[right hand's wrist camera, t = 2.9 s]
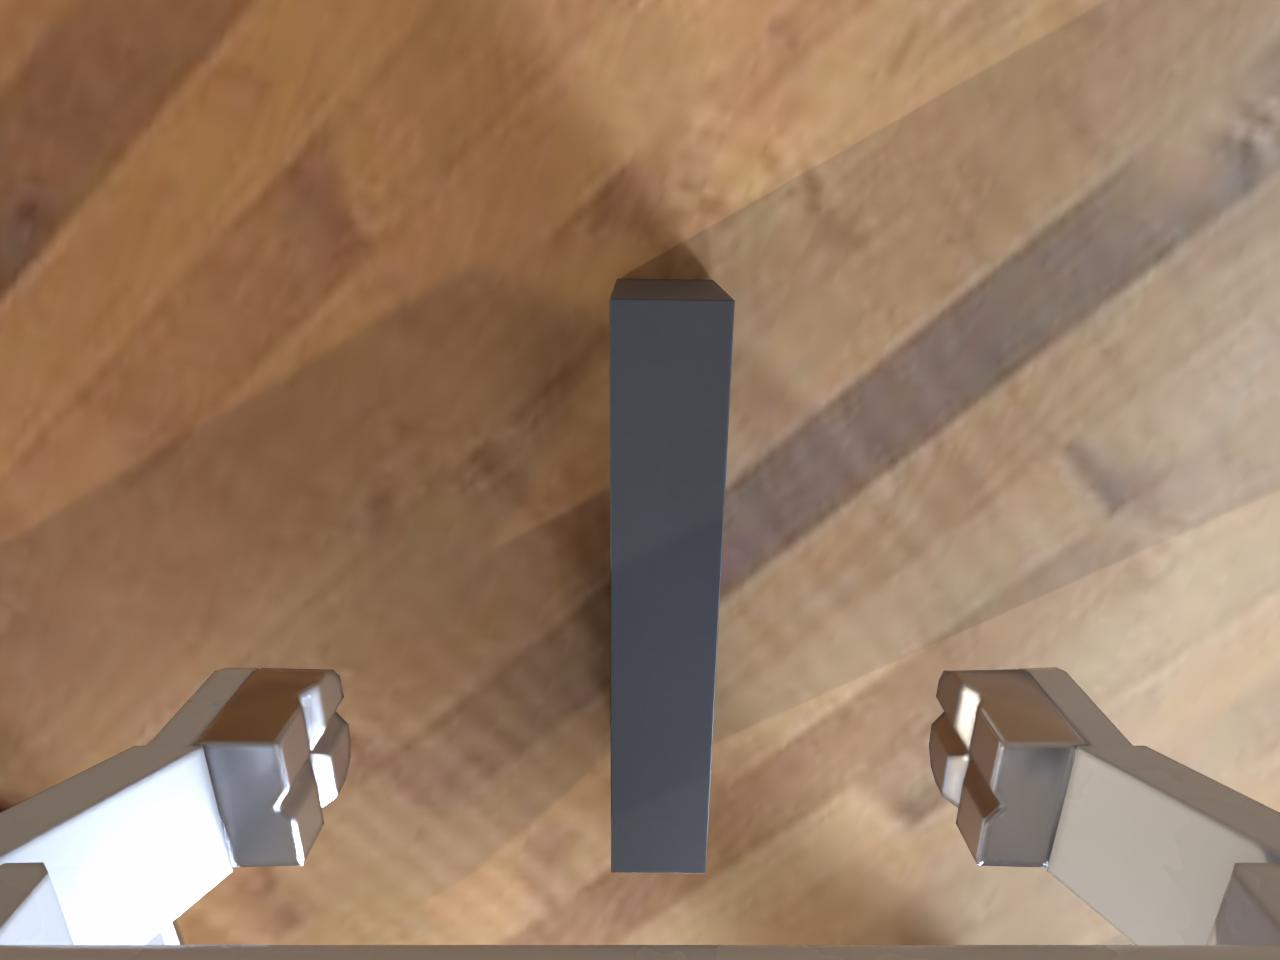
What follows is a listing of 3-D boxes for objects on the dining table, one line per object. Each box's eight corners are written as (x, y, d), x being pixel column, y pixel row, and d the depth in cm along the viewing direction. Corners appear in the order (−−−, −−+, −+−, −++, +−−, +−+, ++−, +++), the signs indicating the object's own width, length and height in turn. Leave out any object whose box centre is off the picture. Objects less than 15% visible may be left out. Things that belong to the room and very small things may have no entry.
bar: (616, 278, 36) (609, 298, 28) (713, 279, 36) (734, 299, 28) (616, 751, 45) (611, 873, 36) (694, 752, 45) (706, 873, 36)
